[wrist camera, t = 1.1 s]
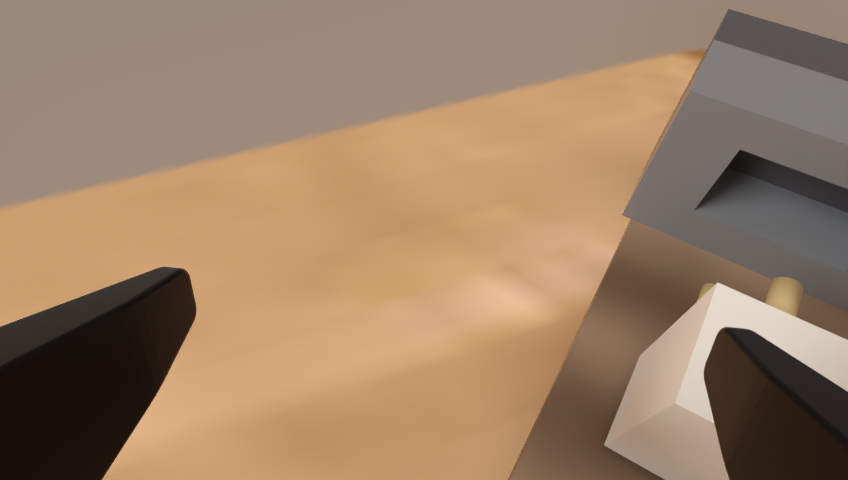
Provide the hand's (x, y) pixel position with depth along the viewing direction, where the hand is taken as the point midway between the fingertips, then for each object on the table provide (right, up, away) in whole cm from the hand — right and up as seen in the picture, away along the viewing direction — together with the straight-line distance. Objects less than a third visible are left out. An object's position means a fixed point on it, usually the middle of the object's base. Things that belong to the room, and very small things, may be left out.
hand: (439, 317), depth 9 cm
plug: (+10, -5, +11) cm, 16 cm away
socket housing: (+15, +2, +16) cm, 22 cm away
